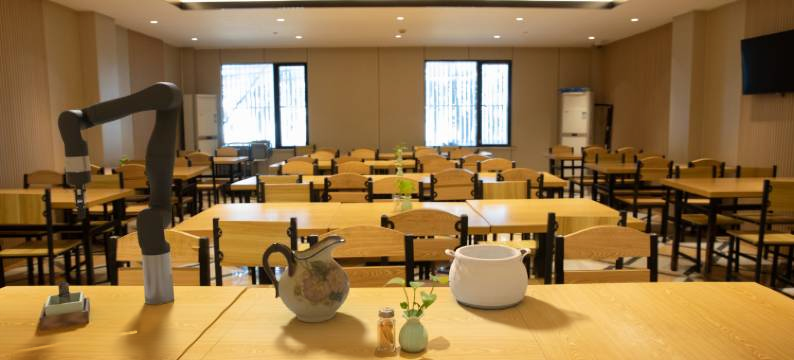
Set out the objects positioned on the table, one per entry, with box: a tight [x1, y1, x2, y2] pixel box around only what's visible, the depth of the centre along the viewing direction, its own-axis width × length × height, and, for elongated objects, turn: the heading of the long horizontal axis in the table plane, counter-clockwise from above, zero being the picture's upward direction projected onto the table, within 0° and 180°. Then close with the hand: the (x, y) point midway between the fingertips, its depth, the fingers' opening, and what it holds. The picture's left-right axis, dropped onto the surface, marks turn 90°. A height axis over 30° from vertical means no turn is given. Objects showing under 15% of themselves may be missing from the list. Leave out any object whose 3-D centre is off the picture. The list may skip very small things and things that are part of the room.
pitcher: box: [261, 234, 351, 323], centre depth 190 cm, size 22×24×25 cm
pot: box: [444, 243, 532, 310], centre depth 205 cm, size 29×26×17 cm
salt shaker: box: [57, 279, 72, 304], centre depth 190 cm, size 6×6×12 cm
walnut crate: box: [39, 296, 91, 331], centre depth 191 cm, size 13×15×4 cm
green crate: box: [45, 290, 85, 316], centre depth 191 cm, size 10×12×6 cm
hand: (82, 216), depth 205 cm, fingers open, 8 cm apart
